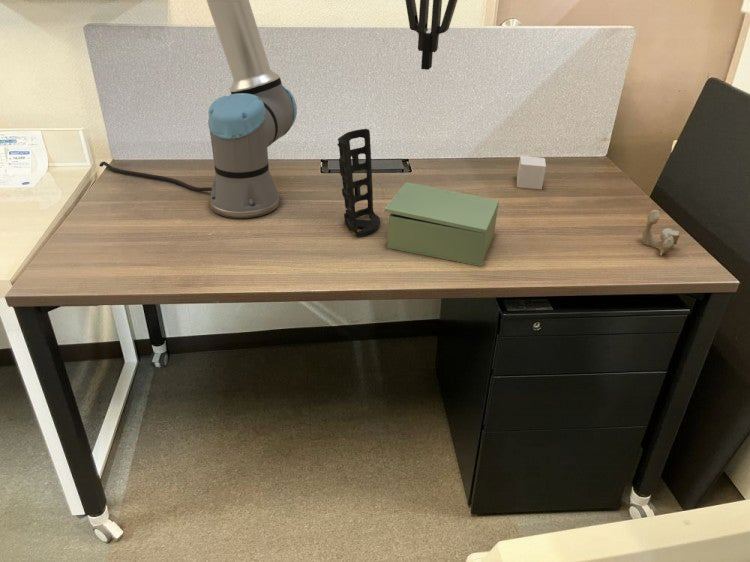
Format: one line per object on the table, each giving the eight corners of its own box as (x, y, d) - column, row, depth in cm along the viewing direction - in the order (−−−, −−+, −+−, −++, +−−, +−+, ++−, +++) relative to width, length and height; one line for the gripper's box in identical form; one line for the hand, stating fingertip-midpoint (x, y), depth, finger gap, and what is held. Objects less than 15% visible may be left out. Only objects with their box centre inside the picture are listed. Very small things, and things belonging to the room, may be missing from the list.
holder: (375, 238, 124) (367, 144, 114) (339, 238, 126) (329, 144, 115) (383, 216, 133) (377, 127, 123) (350, 215, 135) (341, 127, 125)
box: (387, 248, 122) (388, 216, 118) (407, 218, 133) (409, 189, 129) (481, 266, 116) (485, 233, 113) (494, 234, 128) (498, 204, 124)
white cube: (516, 178, 155) (520, 155, 151) (540, 180, 154) (544, 157, 151) (517, 187, 150) (520, 164, 146) (541, 189, 149) (546, 166, 146)
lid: (384, 212, 118) (384, 208, 117) (405, 185, 129) (405, 181, 129) (485, 233, 113) (486, 229, 112) (498, 203, 124) (499, 200, 124)
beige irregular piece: (696, 251, 120) (683, 213, 116) (667, 268, 121) (653, 230, 116) (670, 234, 128) (657, 197, 123) (643, 250, 129) (629, 214, 124)
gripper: (395, -65, 110) (390, 68, 123) (465, -62, 107) (453, 75, 119) (407, -67, 116) (401, 61, 129) (474, -64, 113) (461, 67, 125)
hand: (426, 67), depth 124 cm, fingers closed
